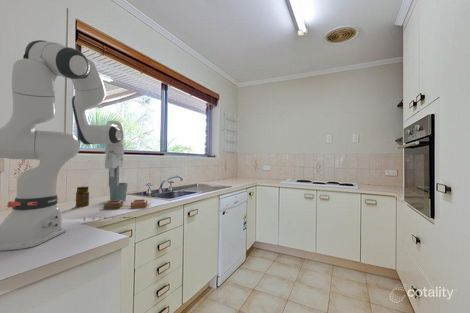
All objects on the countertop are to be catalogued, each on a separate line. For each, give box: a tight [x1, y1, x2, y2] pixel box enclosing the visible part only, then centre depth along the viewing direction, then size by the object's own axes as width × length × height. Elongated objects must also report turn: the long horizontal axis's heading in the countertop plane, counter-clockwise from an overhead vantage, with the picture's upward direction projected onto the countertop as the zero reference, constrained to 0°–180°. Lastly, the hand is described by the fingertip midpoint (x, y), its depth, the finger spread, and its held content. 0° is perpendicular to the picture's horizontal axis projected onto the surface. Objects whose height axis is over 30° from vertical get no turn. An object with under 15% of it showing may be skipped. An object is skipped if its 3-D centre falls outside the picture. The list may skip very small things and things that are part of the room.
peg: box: [108, 166, 120, 187], centre depth 119 cm, size 4×4×11 cm
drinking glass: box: [108, 182, 128, 202], centre depth 137 cm, size 10×10×12 cm
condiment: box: [75, 185, 90, 208], centre depth 121 cm, size 7×8×12 cm
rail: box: [99, 198, 151, 211], centre depth 121 cm, size 12×24×4 cm, turn 104°
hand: (114, 176), depth 119 cm, fingers closed on peg, 4 cm apart
